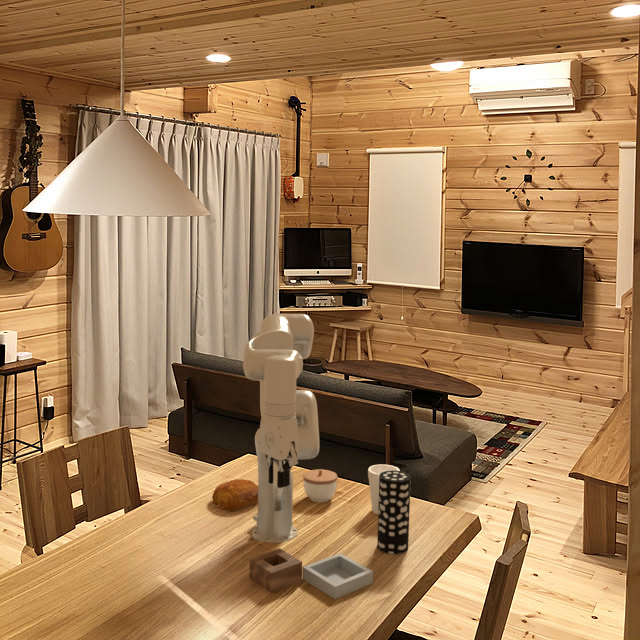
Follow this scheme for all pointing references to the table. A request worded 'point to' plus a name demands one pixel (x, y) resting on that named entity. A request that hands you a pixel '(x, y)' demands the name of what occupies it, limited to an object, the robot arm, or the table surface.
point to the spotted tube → (393, 512)
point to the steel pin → (277, 490)
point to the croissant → (235, 494)
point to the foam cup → (377, 483)
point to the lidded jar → (320, 484)
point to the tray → (337, 575)
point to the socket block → (275, 570)
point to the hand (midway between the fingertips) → (279, 483)
